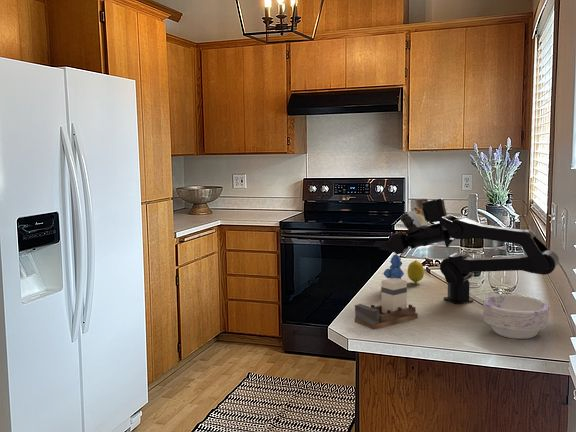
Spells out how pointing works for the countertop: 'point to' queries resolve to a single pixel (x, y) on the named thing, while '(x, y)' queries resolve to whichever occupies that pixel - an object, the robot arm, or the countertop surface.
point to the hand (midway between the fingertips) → (385, 244)
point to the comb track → (382, 316)
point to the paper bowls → (515, 315)
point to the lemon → (415, 271)
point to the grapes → (394, 268)
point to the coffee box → (419, 210)
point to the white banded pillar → (393, 294)
